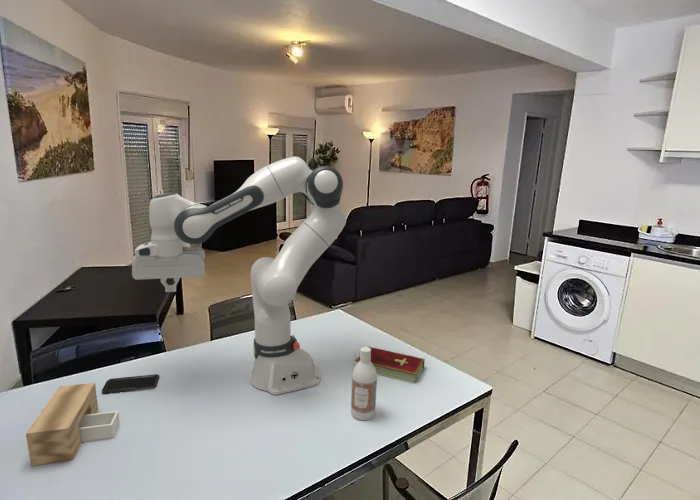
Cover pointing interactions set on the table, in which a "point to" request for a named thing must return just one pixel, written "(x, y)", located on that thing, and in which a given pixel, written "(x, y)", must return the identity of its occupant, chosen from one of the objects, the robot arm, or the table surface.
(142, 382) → the phone
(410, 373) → the hardcover book
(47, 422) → the overhang dock
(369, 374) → the bath foam
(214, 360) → the table surface
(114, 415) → the white drawer
